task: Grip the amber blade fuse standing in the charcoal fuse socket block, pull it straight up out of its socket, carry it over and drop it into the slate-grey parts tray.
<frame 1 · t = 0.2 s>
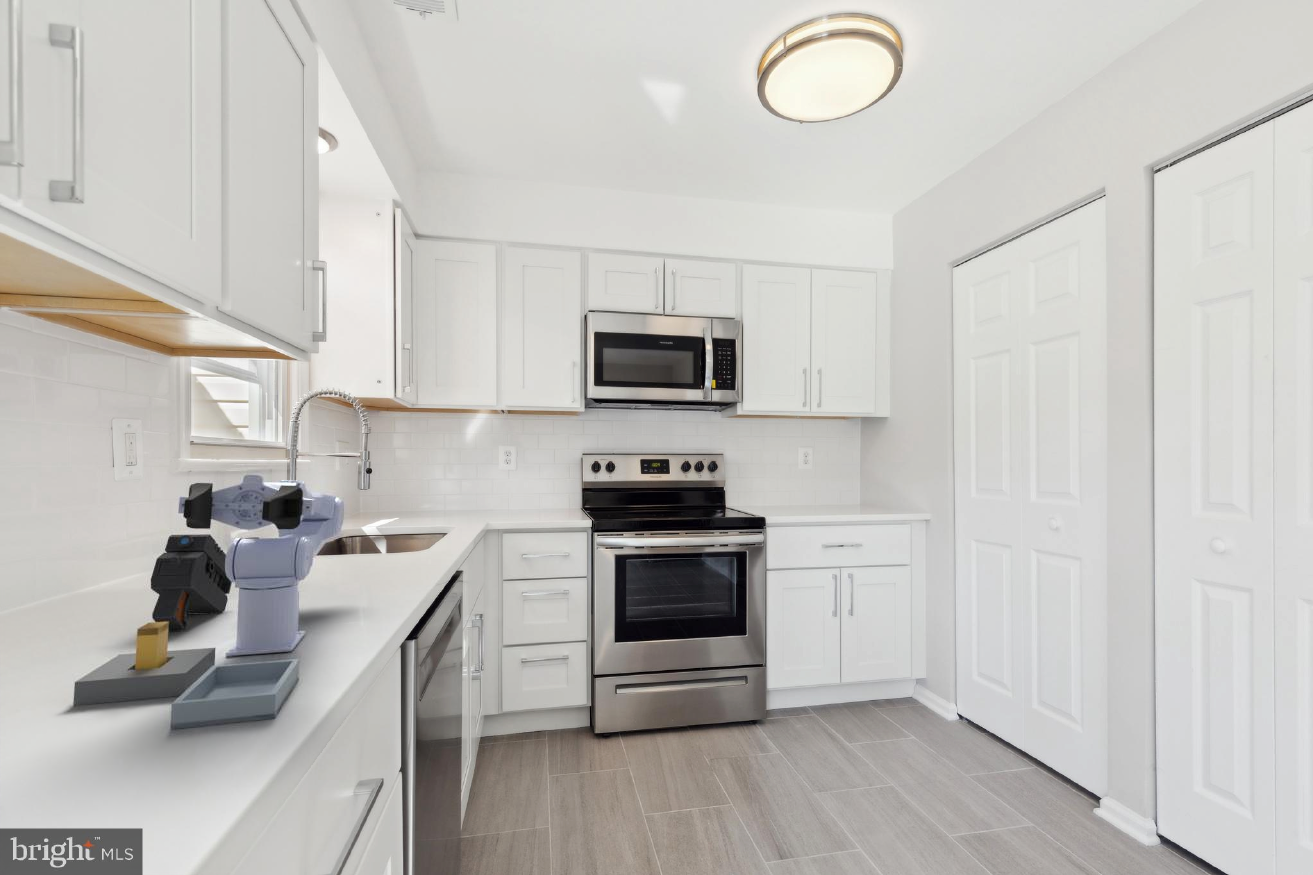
hand: (227, 509, 70), 21 cm above the counter, tool horizontal, fingers open, 7 cm apart
fuse: (151, 654, 72), in the socket block
tool: (192, 621, 101), on the counter
socket block: (150, 684, 72), on the counter
parts tray: (241, 701, 68), on the counter
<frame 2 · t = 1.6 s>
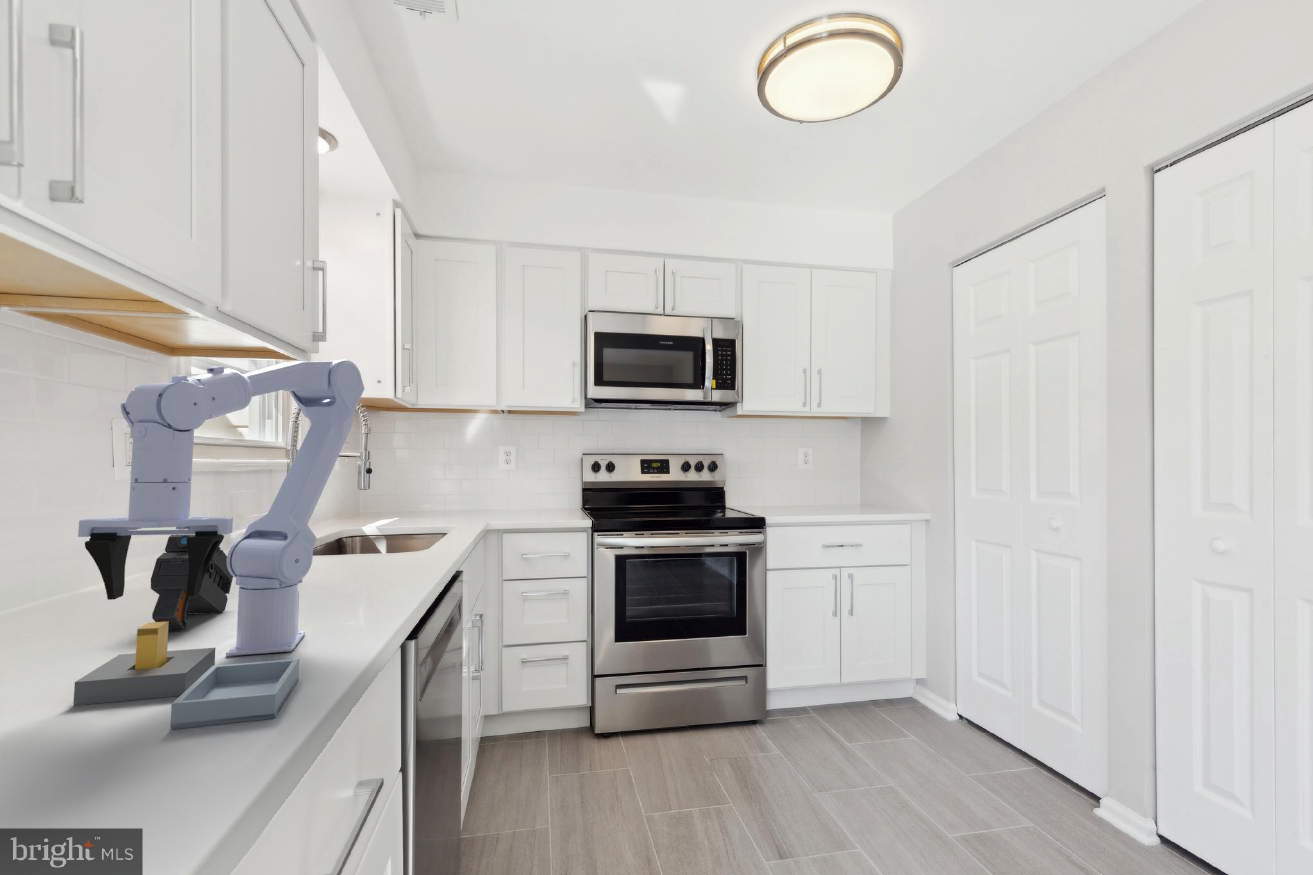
hand: (155, 596, 73), 10 cm above the counter, tool pointing down, fingers open, 7 cm apart
nothing on the counter moved.
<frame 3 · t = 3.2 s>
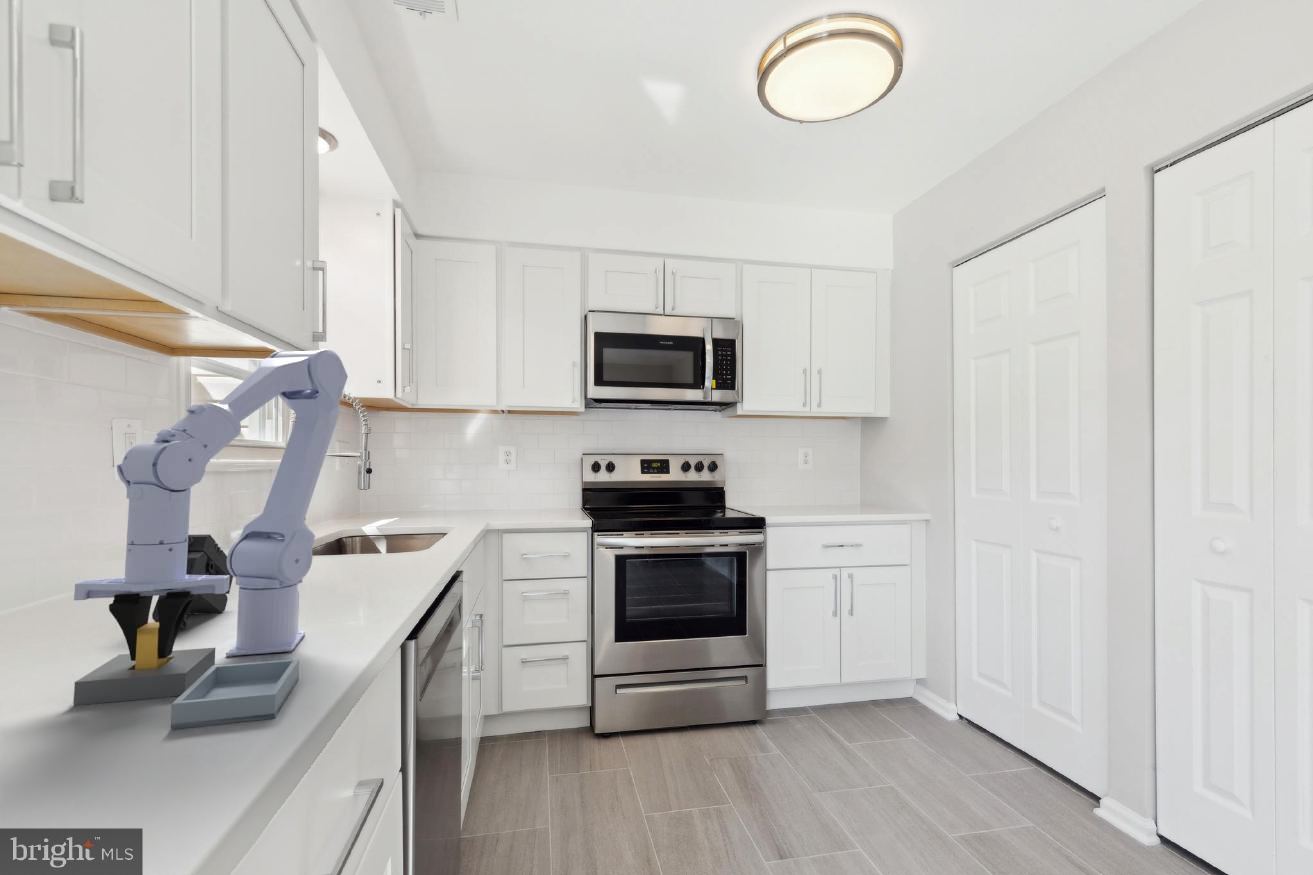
hand: (151, 657, 72), 3 cm above the counter, tool pointing down, fingers closed on fuse, 2 cm apart
fuse: (151, 654, 72), in the socket block, touching gripper
everything else where it was.
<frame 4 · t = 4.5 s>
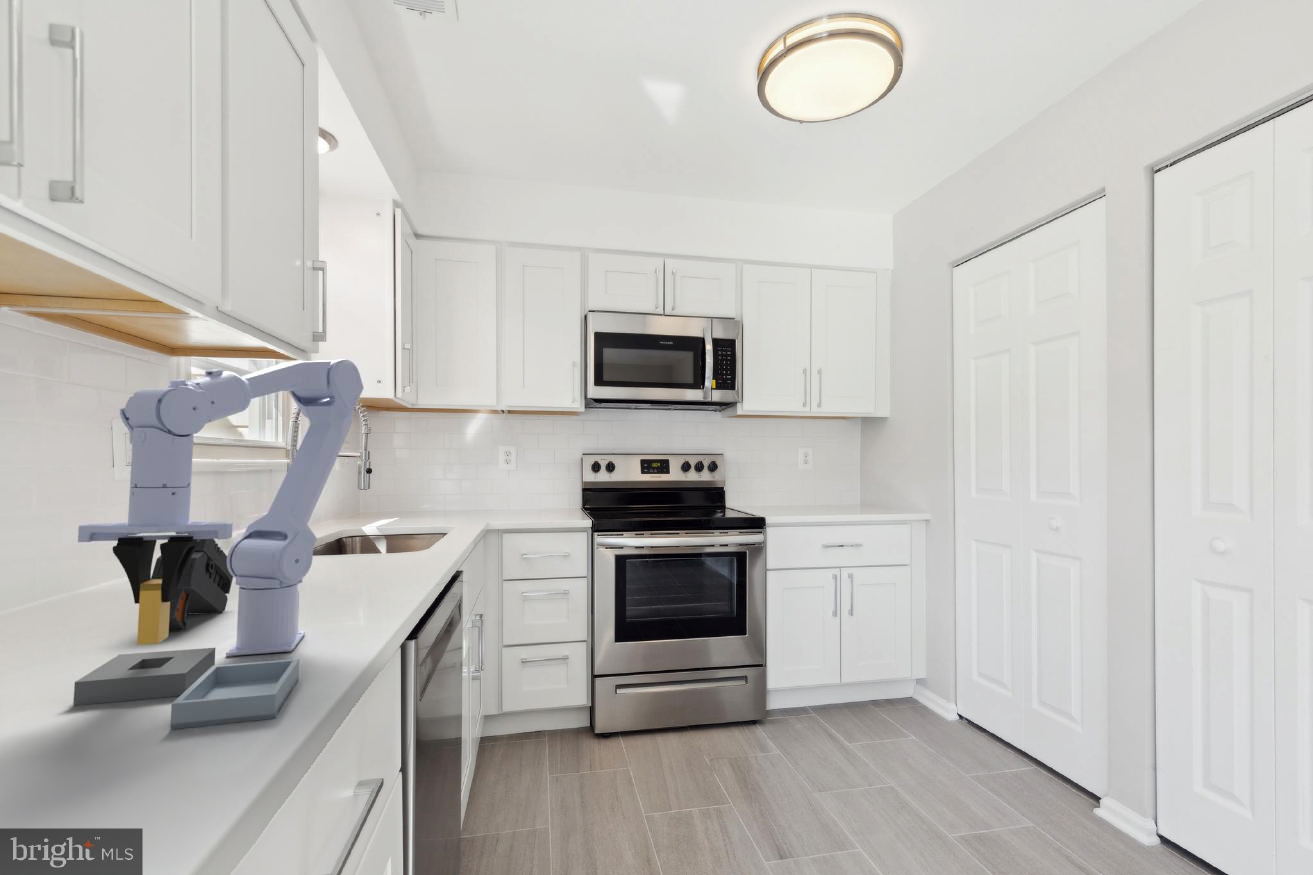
hand: (155, 601, 73), 10 cm above the counter, tool pointing down, fingers closed on fuse, 2 cm apart
fuse: (154, 610, 73), point 9 cm above the counter, touching gripper
everything else where it was.
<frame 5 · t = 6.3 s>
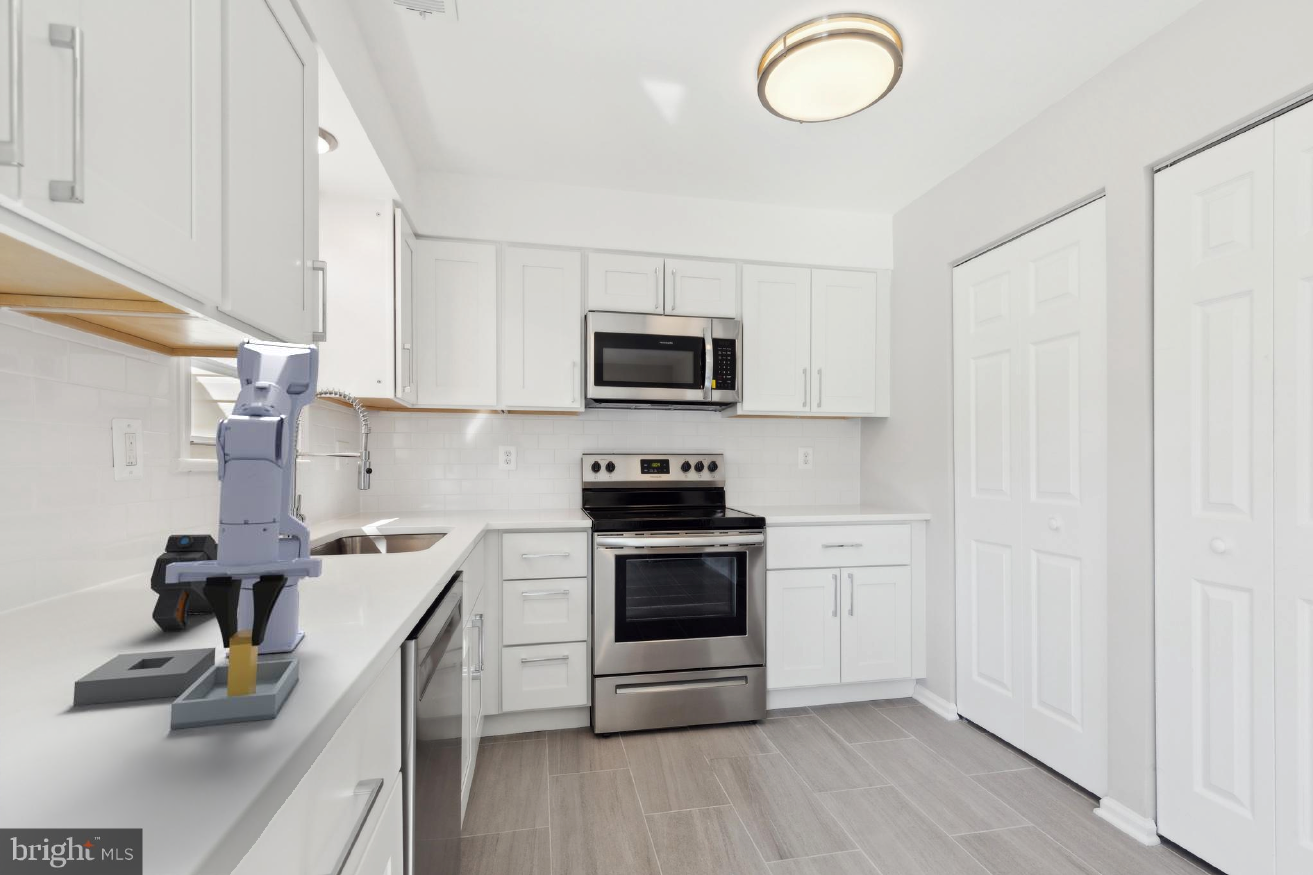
hand: (243, 644, 68), 6 cm above the counter, tool pointing down, fingers closed on fuse, 2 cm apart
fuse: (243, 665, 68), in the parts tray, touching gripper
everything else where it was.
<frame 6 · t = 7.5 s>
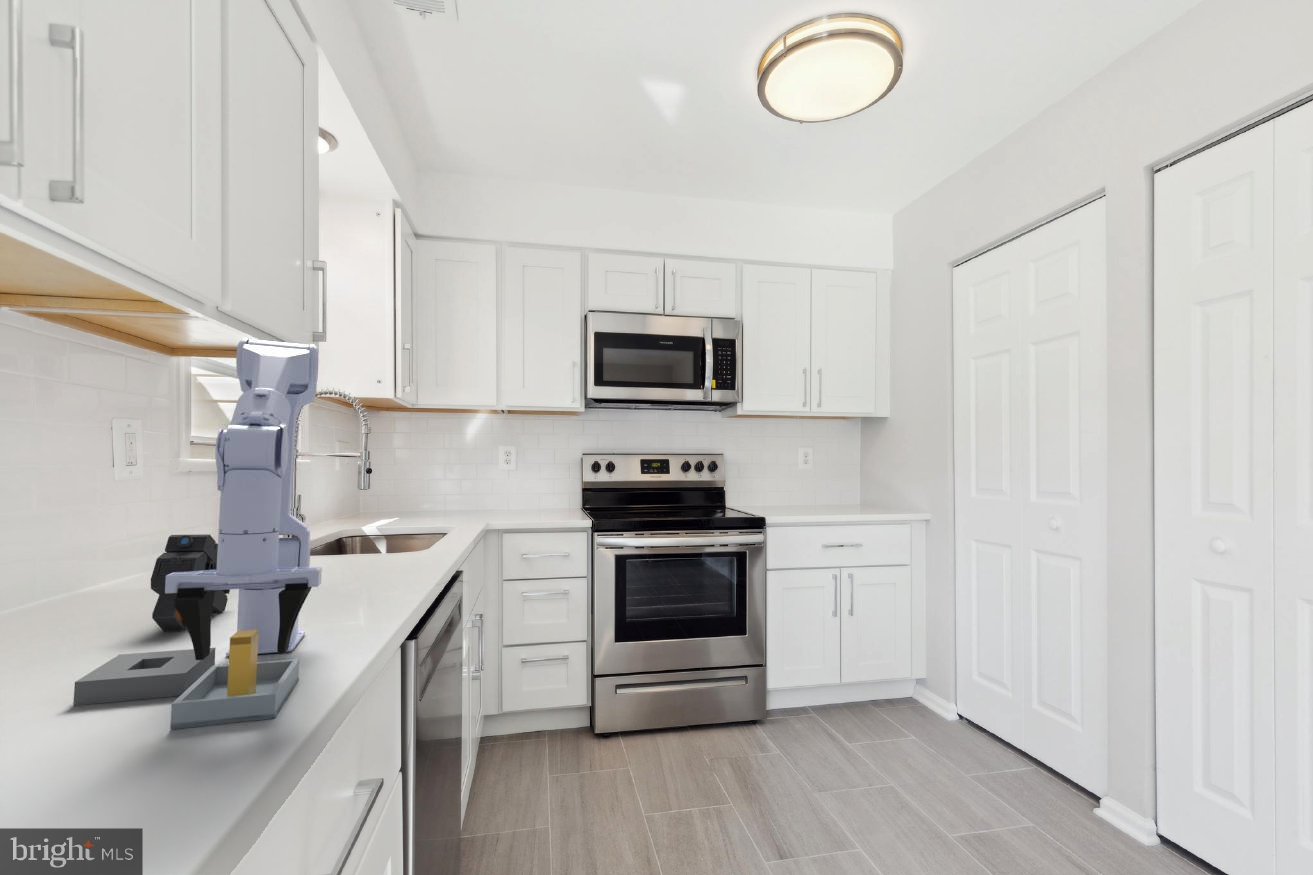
hand: (243, 654, 68), 5 cm above the counter, tool pointing down, fingers open, 7 cm apart
fuse: (243, 665, 68), in the parts tray
everything else where it was.
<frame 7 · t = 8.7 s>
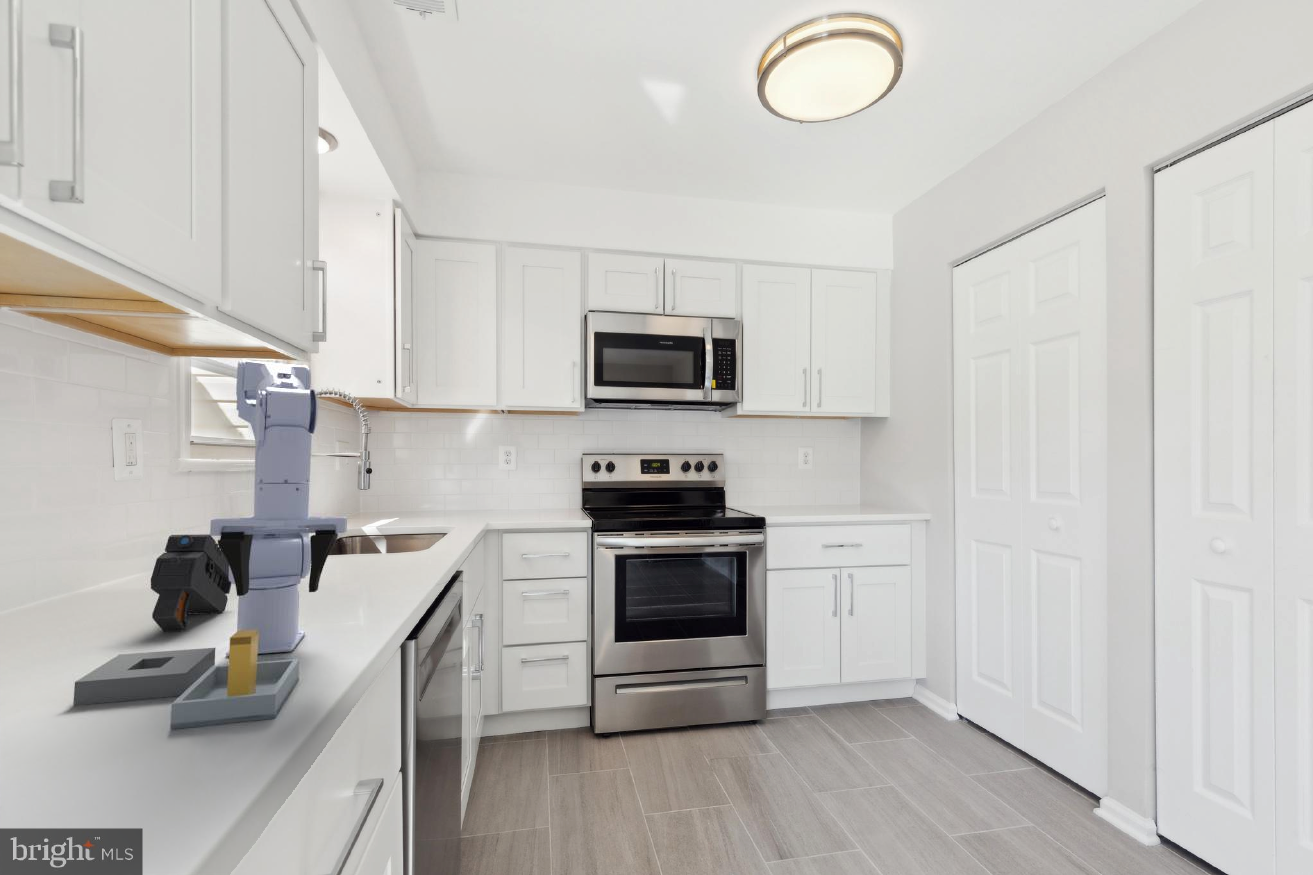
hand: (278, 592, 76), 10 cm above the counter, tool pointing down, fingers open, 7 cm apart
nothing on the counter moved.
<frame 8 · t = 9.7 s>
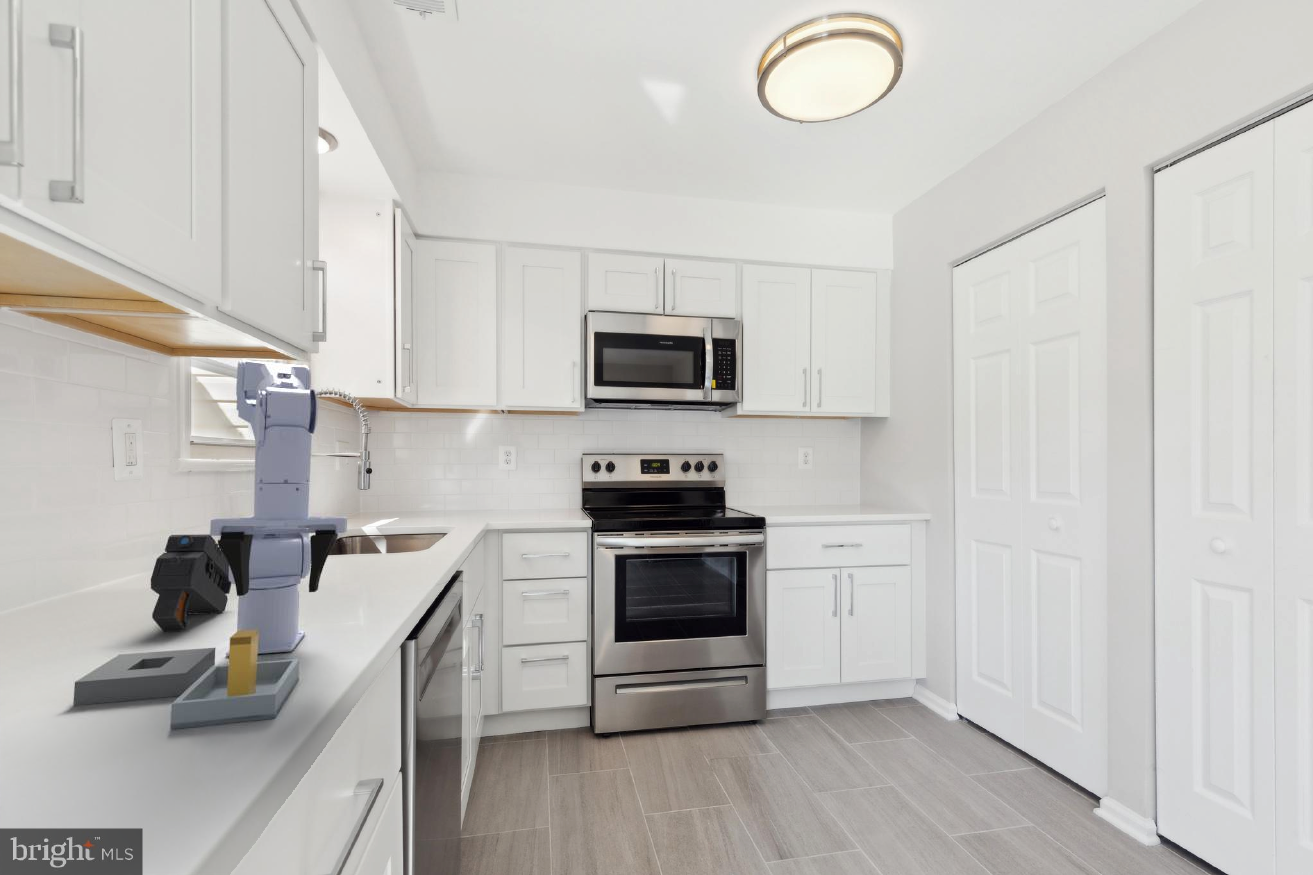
hand: (278, 592, 76), 10 cm above the counter, tool pointing down, fingers open, 7 cm apart
nothing on the counter moved.
at the end: fuse inside the target area on the parts tray (0.0 cm from its centre), point 4.0 cm above the parts tray's base; the gripper is holding nothing; fuse moved 14.6 cm from its start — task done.
